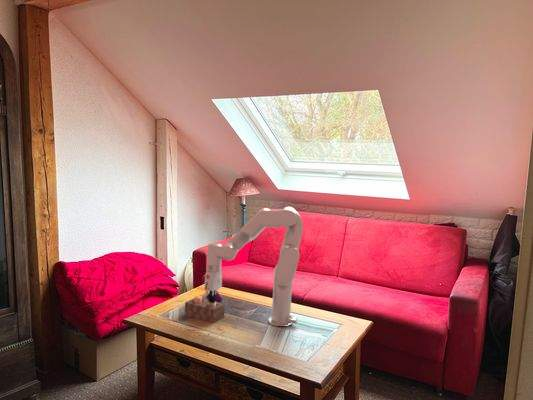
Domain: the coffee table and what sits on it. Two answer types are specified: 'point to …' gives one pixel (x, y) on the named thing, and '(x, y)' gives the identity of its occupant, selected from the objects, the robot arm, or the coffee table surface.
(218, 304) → the walnut block
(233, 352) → the coffee table surface
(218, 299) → the perfume bottle
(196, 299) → the terracotta plug
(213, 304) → the beech plug
